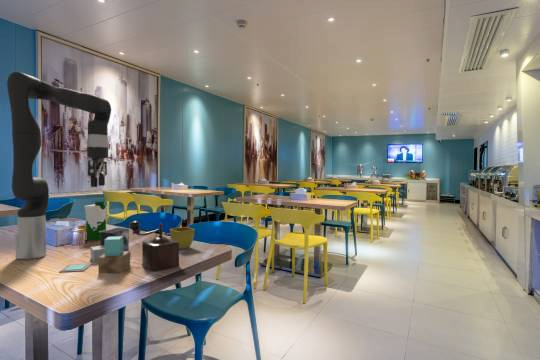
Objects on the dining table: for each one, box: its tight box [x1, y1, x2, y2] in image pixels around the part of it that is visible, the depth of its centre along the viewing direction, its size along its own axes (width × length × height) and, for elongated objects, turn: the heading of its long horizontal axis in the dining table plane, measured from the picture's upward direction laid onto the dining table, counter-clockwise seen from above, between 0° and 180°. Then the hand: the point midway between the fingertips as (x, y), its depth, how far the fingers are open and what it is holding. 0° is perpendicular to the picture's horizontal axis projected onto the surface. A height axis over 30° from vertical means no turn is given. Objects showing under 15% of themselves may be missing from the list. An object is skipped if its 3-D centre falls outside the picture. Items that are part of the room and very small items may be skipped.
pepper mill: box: [128, 220, 180, 273], centre depth 115 cm, size 16×11×18 cm
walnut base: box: [97, 250, 131, 275], centre depth 112 cm, size 8×8×6 cm
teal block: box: [104, 236, 123, 256], centre depth 112 cm, size 5×5×6 cm
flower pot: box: [169, 226, 196, 250], centre depth 144 cm, size 9×9×9 cm
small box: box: [100, 227, 130, 251], centre depth 133 cm, size 11×6×10 cm, turn 168°
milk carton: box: [83, 200, 108, 241], centre depth 160 cm, size 9×9×20 cm
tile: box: [58, 263, 93, 273], centre depth 113 cm, size 8×8×1 cm
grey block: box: [90, 245, 105, 263], centre depth 124 cm, size 5×5×6 cm
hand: (98, 186), depth 124 cm, fingers open, 8 cm apart
